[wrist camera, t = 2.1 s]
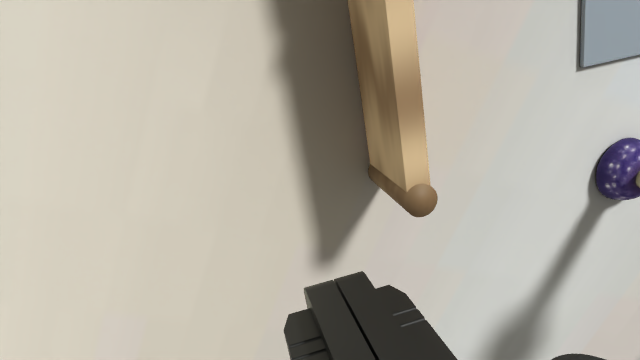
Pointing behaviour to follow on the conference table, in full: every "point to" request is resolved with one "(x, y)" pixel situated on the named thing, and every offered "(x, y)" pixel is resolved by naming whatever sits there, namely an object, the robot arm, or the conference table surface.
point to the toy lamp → (620, 170)
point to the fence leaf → (393, 101)
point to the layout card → (609, 30)
